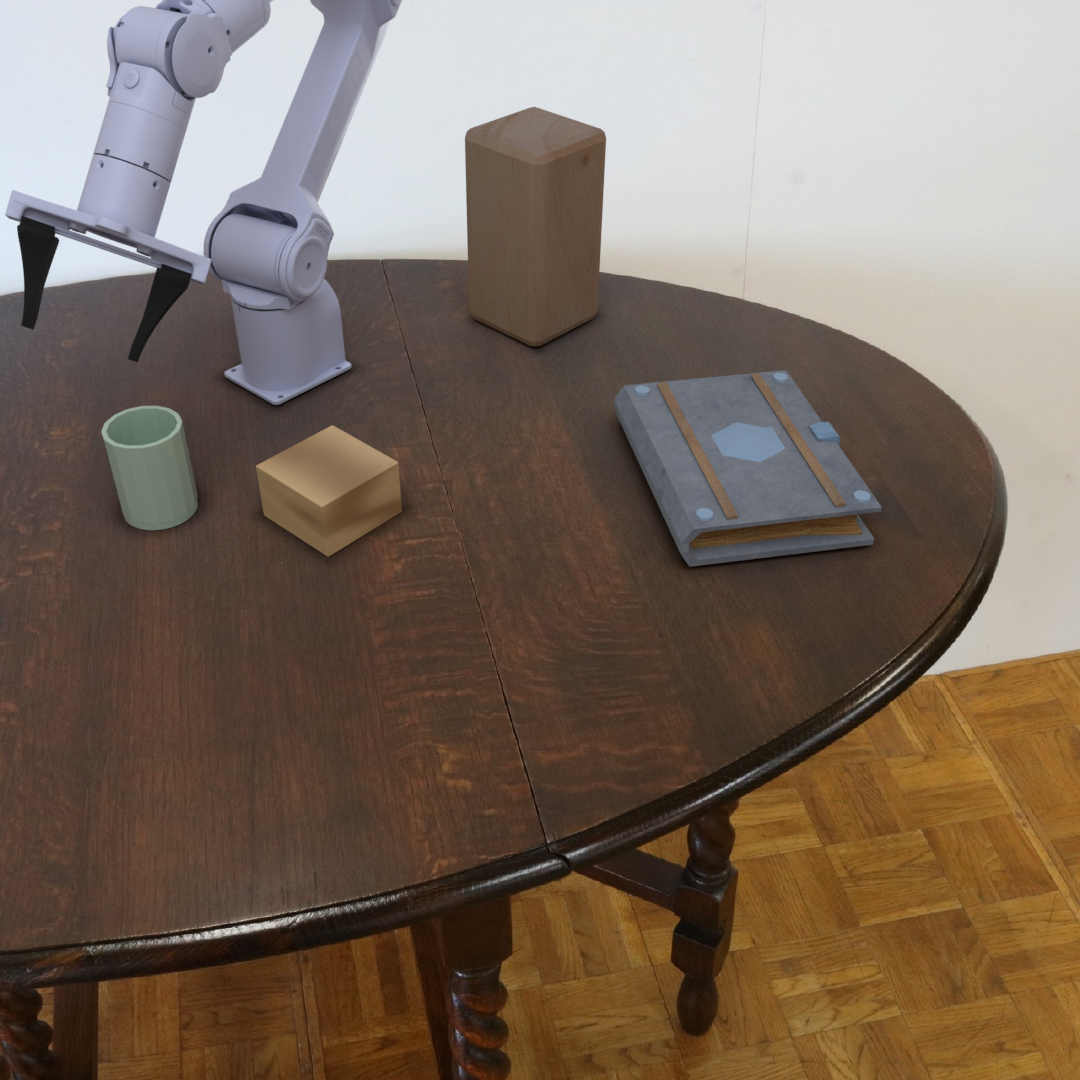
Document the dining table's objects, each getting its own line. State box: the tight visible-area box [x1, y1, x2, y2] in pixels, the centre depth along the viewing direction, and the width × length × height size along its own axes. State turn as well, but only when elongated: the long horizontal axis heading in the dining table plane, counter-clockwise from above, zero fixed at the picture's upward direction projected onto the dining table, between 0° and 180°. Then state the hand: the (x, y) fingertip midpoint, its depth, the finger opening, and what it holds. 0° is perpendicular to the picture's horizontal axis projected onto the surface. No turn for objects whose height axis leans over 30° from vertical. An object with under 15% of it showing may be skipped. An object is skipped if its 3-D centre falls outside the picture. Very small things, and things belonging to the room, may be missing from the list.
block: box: [255, 424, 403, 558], centre depth 96 cm, size 8×8×5 cm
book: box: [613, 369, 883, 567], centre depth 100 cm, size 21×16×5 cm
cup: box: [100, 405, 199, 531], centre depth 95 cm, size 6×6×8 cm
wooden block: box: [464, 106, 607, 347], centre depth 117 cm, size 10×10×20 cm
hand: (80, 344), depth 89 cm, fingers open, 7 cm apart
